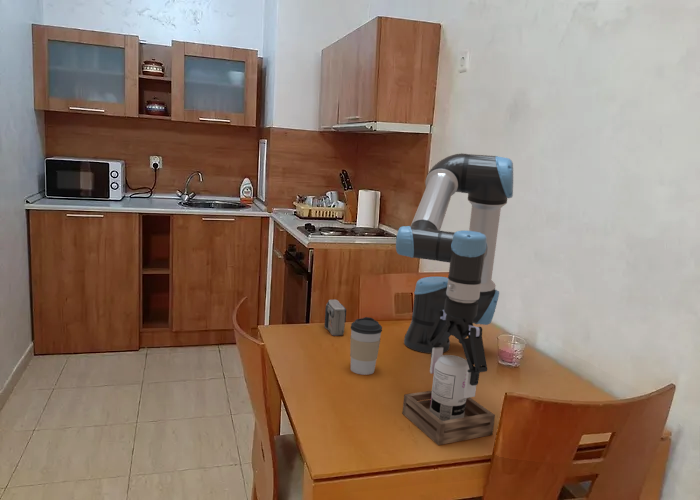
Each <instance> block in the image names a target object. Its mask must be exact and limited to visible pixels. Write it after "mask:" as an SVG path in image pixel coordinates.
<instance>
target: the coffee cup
mask: <svg viewBox="0 0 700 500" xmlns="http://www.w3.org/2000/svg"><path fill="white" fill-rule="evenodd" d="M350 325H351V326H350V331H351V334H350V346H349V347H350V348H349V349H350V355H349V356H350V371H351V372H353V373H355V374H358V375H365V376H366V375H367V376H368V375H372V374H374V372H375V369H376V364H377V359H378V355H379V354H378V353H379V351H380V350H379V349H380V344H381V335H382V332H383V326H382V325H381V324H380V323H379V322H378V321H377V320H375V319H374V318H373V317H370V316H369V317H368V316H366V317H365V316H364V317H362V318H357V319H354V321H353V322H352V323H351V324H350Z"/></svg>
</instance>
